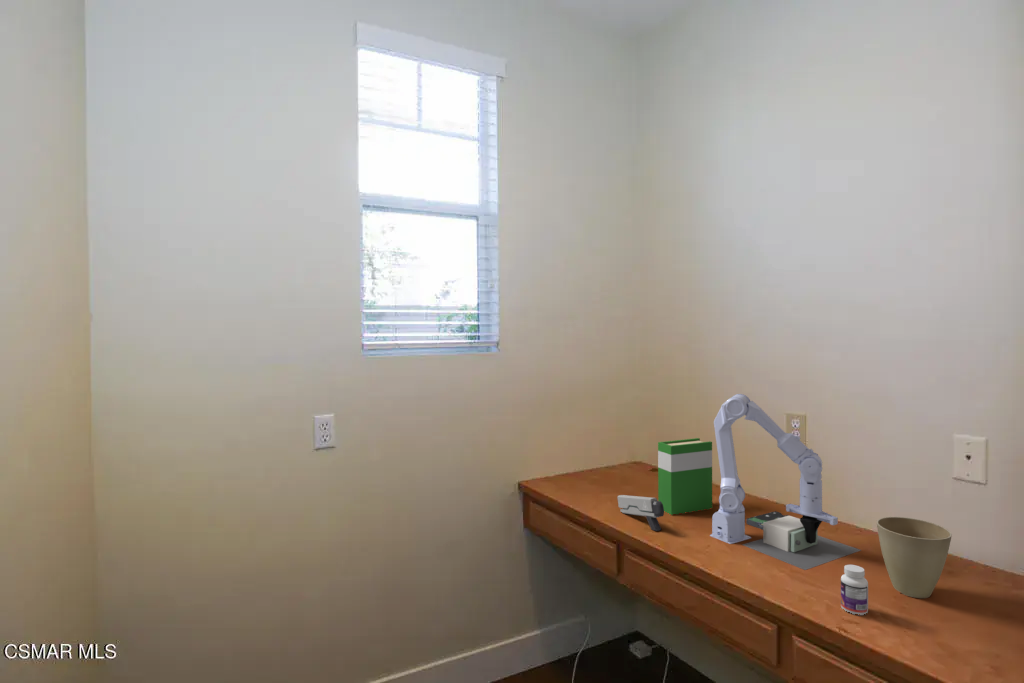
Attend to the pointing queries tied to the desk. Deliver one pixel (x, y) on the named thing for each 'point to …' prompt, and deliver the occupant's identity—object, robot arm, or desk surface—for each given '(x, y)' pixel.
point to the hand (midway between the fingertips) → (811, 542)
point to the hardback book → (685, 475)
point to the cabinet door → (800, 540)
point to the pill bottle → (854, 590)
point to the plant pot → (913, 553)
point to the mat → (806, 552)
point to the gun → (642, 508)
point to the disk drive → (763, 519)
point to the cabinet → (780, 531)
